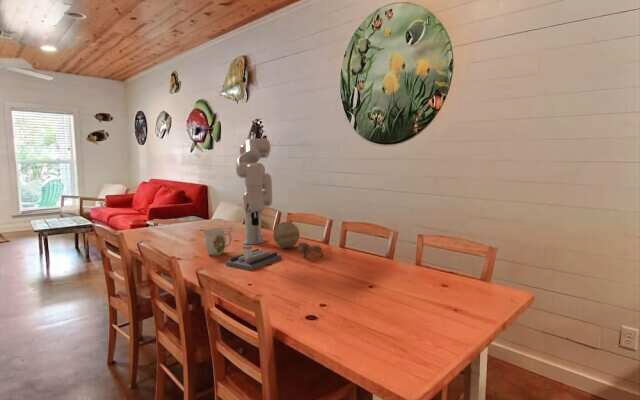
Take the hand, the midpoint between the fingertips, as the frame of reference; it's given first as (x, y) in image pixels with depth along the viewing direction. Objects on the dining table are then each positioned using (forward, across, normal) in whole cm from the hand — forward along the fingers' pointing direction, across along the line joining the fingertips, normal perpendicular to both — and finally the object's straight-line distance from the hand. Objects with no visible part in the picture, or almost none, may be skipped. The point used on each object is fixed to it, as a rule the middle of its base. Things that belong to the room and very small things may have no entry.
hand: (255, 225), depth 192 cm
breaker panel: (+19, +2, +1) cm, 19 cm away
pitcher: (+19, 0, -27) cm, 33 cm away
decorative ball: (+20, -30, -2) cm, 36 cm away
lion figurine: (+19, -19, +21) cm, 34 cm away
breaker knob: (+16, +7, +1) cm, 18 cm away
